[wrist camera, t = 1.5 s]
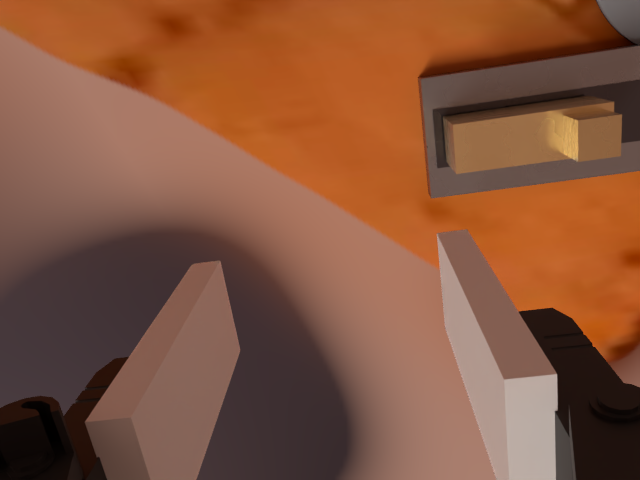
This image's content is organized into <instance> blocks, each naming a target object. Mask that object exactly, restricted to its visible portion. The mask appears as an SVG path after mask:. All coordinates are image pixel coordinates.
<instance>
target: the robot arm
mask: <svg viewBox="0 0 640 480" xmlns="http://www.w3.org/2000/svg"><path fill="white" fill-rule="evenodd" d="M437 240H438V251H439V263H440V274H441V285H442V297H443V308H444V319H445V329H446V332H447V334H448V337H449V340H450V343H451V346H452V349H453V352H454V355H455V358H456V361H457V364H458V367H459V370H460V373H461V376H462V379H463V382H464V385H465V388H466V391H467V394H468V397H469V400H470V402H471V405H472V408H473V411H474V414H475V417H476V420H477V423H478V426H479V429H480V432H481V435H482V438H483V441H484V444H485V447H486V450H487V453H488V456H489V459H490V462H491V464H492V468H493V471H494V474H495V477H496V479H497V480H640V387H637V386H634V385H632V384H625V383H623V382H622V380H621V379H620V378H619V377H618V376H617V374H616V373H615V372H614V370H613V369H612V368H611V367H610V365H609V364H608V363H607V362H606V360H605V359H604V358H603V357H602V355H601V354H600V353H599V352H598V350H597V349H596V348H595V347H593V346H592V343H591V342H590V340H589V339H588V338H587V337H586V335H583V332H582V330H581V329H580V328H579V327H578V325H577V324H576V323H575V322H574V320H573V319H572V318H570V317H568V316H566V315H565V314H563V313H561V312H559V311H557V310H555V309H553V308H546V309H537V310H528V311H519V312H518V310H517V309H516V307H515V306H514V304H513V302H512V301H511V299H510V298H509V296H508V294H507V293H506V291H505V290H504V288H503V286H502V285H501V283H500V282H499V280H498V278H497V277H496V275H495V274H494V272H493V270H492V269H491V267H490V266H489V264H488V262H487V261H486V259H485V258H484V256H483V254H482V253H481V251H480V250H479V248H478V246H477V245H476V243H475V242H474V240H473V238H472V237H471V235H470V234H469V232H468V230H459V231H451V232H443V233H437ZM239 353H240V347H239V343H238V338H237V334H236V329H235V325H234V320H233V316H232V311H231V307H230V302H229V298H228V294H227V289H226V285H225V281H224V276H223V272H222V267H221V262H220V261H213V262H205V263H198V264H192V265H191V267H190V268H189V270H188V271H187V273H186V274H185V276H184V277H183V279H182V280H181V282H180V283H179V285H178V286H177V288H176V289H175V291H174V292H173V293H172V295H171V296H170V298H169V299H168V301H167V302H166V304H165V305H164V307H163V308H162V309H161V311H160V312H159V314H158V316H157V317H156V318H155V320H154V321H153V323H152V324H151V326H150V327H149V329H148V330H147V331H146V333H145V334H144V336H143V337H142V339H141V340H140V342H139V343H138V345H137V346H136V348H135V349H134V351H133V352H132V354H131V355H130V357H125V358H116V359H114V360H112V361H111V362H110V363H109V364H107V365H106V366H105V367H103V368H102V369H101V370H99V371H98V372H96V374H95V375H94V376H93V378H92V379H91V380H90V382H89V383H88V384H87V386H86V387H85V391H82V393H81V394H80V395H79V396H78V398H77V399H76V403H75V404H73V405H72V406H71V407H70V408H69V410H68V411H67V413H66V414H65V415H64V416H63V413H62V411H61V408H60V405H59V402H58V401H56V400H55V399H54V398H52V397H45V396H37V397H31V398H25V399H22V400H19V401H16V402H13V403H10V404H8V405H5V406H3V407H1V408H0V480H196V479H197V476H198V473H199V470H200V467H201V464H202V461H203V458H204V455H205V452H206V450H207V447H208V444H209V441H210V438H211V435H212V432H213V429H214V426H215V423H216V420H217V417H218V414H219V411H220V408H221V406H222V403H223V400H224V397H225V394H226V391H227V388H228V385H229V382H230V379H231V376H232V373H233V370H234V367H235V364H236V361H237V358H238V356H239Z"/></svg>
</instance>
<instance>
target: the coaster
mask: <svg viewBox="0 0 640 480" xmlns="http://www.w3.org/2000/svg"><path fill="white" fill-rule="evenodd" d="M596 2H597V4H598V6H599V8H600V10H601V12H602V13H603V15H604V16H605V17H606V19H607V20H608V22H609V23H610V24H611V25H612V26H613V27H614V28H615V29H616V30H617V31H618V32H619V33H620V34H621V35H622V36H624V37H625V38H626V39H628V40H629V41H631V42H633V43H634V44H637V45H639V44H640V0H596Z"/></svg>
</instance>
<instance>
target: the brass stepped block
mask: <svg viewBox="0 0 640 480" xmlns="http://www.w3.org/2000/svg"><path fill="white" fill-rule="evenodd" d="M443 126H444V138H445V151H446V162H447V163H448V164H449V166H450V167H451V168H452V169H453V171H454V172H455V173H456V174H461V173H468V172H476V171H483V170H490V169H498V168H505V167H513V166H520V165H527V164H535V163H542V162H550V161H557V160H564V159H574V160H575V161H577V162H582V161H589V160H596V159H604V158H611V157H619V156H621V133H622V114H619V113H615V112H614V102H613V101H609V100H605V99H601V98H597V97H592V96H582V97H575V98H568V99H561V100H554V101H548V102H541V103H534V104H527V105H520V106H513V107H506V108H499V109H492V110H485V111H478V112H472V113H465V114H458V115H451V116H444V117H443Z"/></svg>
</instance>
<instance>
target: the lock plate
mask: <svg viewBox="0 0 640 480" xmlns="http://www.w3.org/2000/svg"><path fill="white" fill-rule="evenodd" d="M418 82H419V93H420V104H421V115H422V126H423V137H424V148H425V159H426V170H427V181H428V192H429V195H430V197H431V198H437V197H445V196H452V195H460V194H468V193H475V192H483V191H490V190H498V189H506V188H513V187H521V186H528V185H536V184H544V183H551V182H559V181H566V180H574V179H582V178H589V177H597V176H604V175H612V174H619V173H627V172H635V171H640V44H639V45H637V44H636V45H629V46H623V47H616V48H610V49H603V50H597V51H590V52H583V53H577V54H570V55H564V56H557V57H550V58H544V59H537V60H531V61H524V62H517V63H511V64H504V65H498V66H491V67H484V68H478V69H471V70H465V71H458V72H451V73H445V74H438V75H432V76H425V77H418ZM582 96H592V97H597V98H601V99H605V100H609V101H613V102H614V112H615V113H619V114H622V133H621V156H619V157H611V158H604V159H596V160H589V161H582V162H577V161H575V160H574V159H564V160H557V161H550V162H542V163H535V164H527V165H520V166H513V167H505V168H498V169H490V170H483V171H476V172H468V173H461V174H456V173H455V172H454V171H453V169H452V168H451V167H450V166H449V164H448V163H447V162H446V151H445V138H444V126H443V117H444V116H451V115H458V114H465V113H472V112H478V111H485V110H492V109H499V108H506V107H513V106H520V105H527V104H534V103H541V102H548V101H554V100H561V99H568V98H575V97H582Z"/></svg>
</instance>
